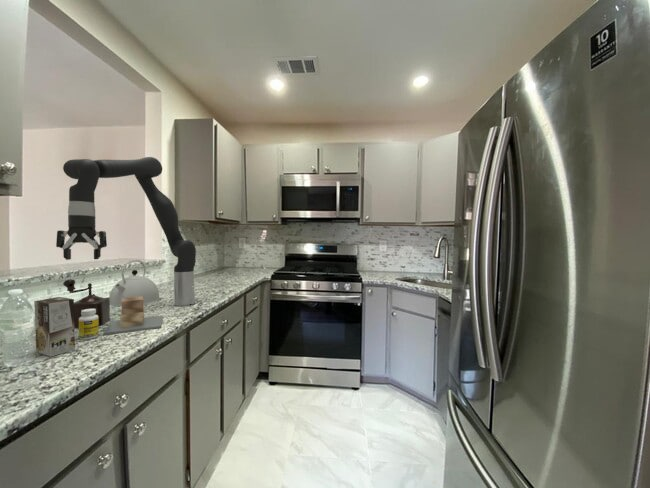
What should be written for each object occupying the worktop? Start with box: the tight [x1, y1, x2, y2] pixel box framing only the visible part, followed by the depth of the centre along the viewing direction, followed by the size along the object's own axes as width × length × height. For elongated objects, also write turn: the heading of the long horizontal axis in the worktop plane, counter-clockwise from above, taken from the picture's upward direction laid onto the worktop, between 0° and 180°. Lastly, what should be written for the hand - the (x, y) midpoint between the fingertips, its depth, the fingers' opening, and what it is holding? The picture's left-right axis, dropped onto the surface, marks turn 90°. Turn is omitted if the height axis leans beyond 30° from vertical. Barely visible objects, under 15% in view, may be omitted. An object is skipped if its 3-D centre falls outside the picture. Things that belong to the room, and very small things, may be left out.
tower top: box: [121, 296, 145, 315], centre depth 113 cm, size 7×7×5 cm
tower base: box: [119, 311, 145, 328], centre depth 113 cm, size 7×7×5 cm
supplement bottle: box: [78, 309, 100, 341], centre depth 100 cm, size 5×5×10 cm
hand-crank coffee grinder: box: [62, 278, 111, 329], centre depth 115 cm, size 16×11×18 cm
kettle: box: [108, 259, 160, 307], centre depth 153 cm, size 25×23×22 cm
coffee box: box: [33, 296, 76, 357], centre depth 89 cm, size 9×6×16 cm
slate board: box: [102, 315, 164, 336], centre depth 114 cm, size 18×16×1 cm
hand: (82, 259), depth 104 cm, fingers open, 8 cm apart
